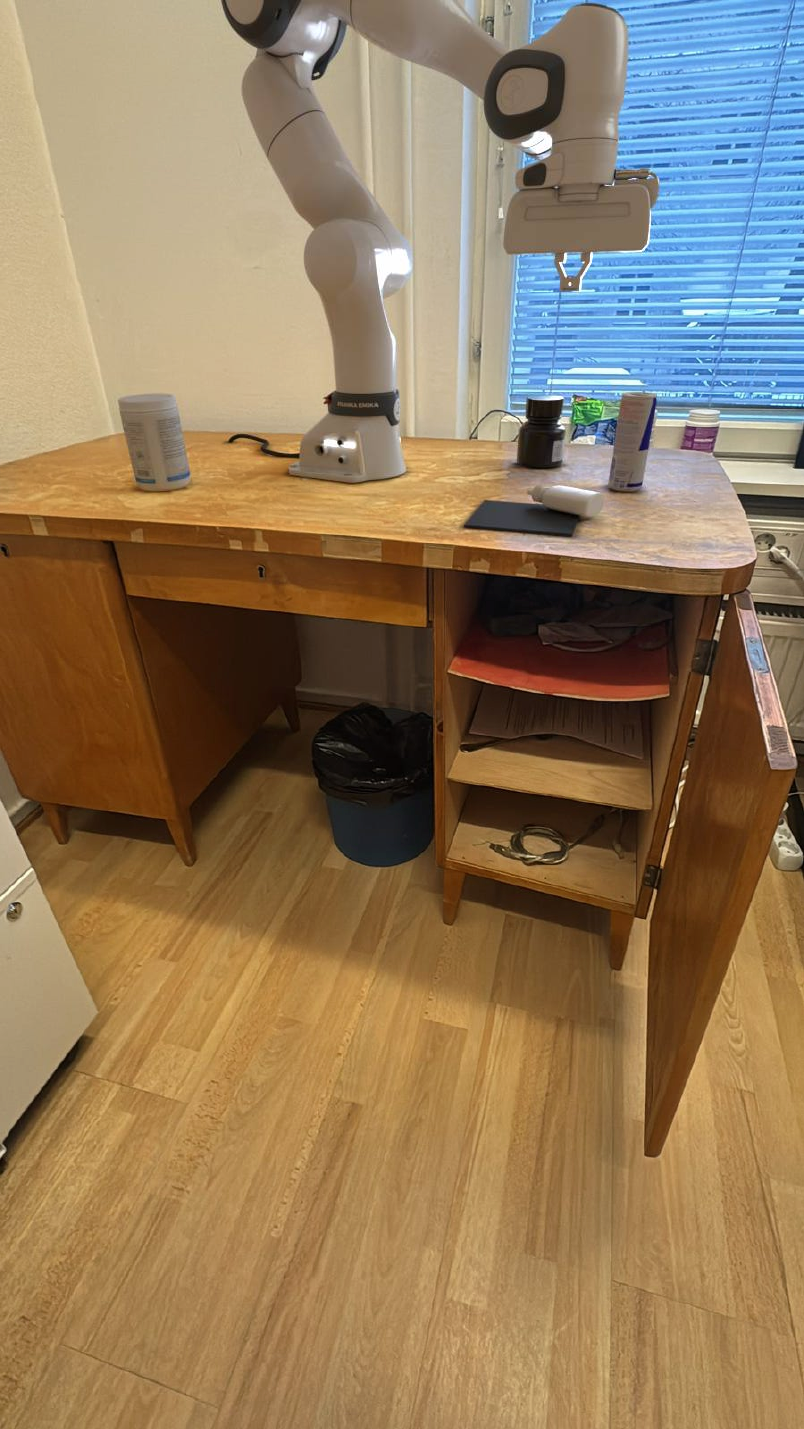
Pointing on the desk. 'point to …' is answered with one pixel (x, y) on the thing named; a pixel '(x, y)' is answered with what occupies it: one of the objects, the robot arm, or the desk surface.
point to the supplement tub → (155, 441)
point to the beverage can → (632, 441)
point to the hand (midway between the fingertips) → (569, 291)
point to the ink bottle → (542, 433)
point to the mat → (522, 518)
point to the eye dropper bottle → (569, 499)
